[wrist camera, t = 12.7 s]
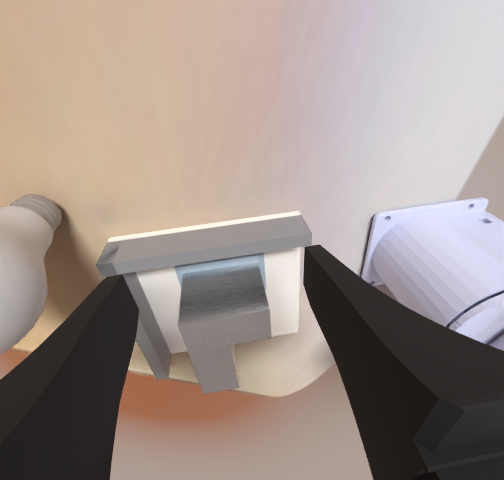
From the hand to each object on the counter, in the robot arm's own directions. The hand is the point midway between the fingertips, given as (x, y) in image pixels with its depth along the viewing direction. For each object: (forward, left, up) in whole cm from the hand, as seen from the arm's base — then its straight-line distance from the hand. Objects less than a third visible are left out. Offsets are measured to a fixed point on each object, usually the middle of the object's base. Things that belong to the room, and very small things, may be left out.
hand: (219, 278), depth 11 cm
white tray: (+1, +10, -9) cm, 14 cm away
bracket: (0, +11, -9) cm, 14 cm away
